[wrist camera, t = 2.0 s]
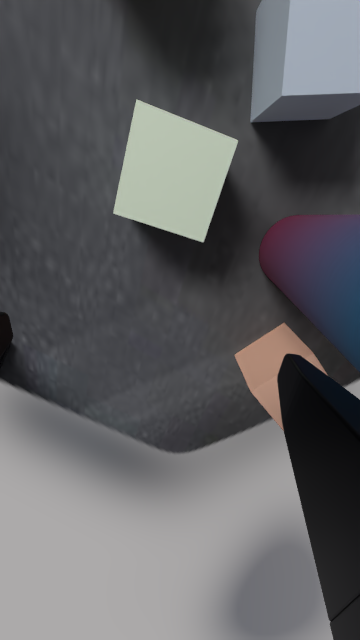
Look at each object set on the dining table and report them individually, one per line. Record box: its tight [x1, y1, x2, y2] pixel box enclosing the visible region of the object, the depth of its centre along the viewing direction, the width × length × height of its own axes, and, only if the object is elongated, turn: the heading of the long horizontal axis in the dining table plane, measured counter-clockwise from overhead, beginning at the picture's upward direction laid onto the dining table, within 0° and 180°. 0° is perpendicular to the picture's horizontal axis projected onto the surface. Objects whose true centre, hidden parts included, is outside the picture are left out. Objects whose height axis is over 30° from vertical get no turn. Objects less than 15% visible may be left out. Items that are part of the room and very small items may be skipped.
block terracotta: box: [235, 323, 328, 431], centre depth 22 cm, size 5×5×5 cm
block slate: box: [251, 0, 360, 122], centre depth 14 cm, size 5×5×5 cm
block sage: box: [113, 99, 238, 242], centre depth 16 cm, size 5×5×5 cm
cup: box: [259, 215, 360, 372], centre depth 14 cm, size 7×7×15 cm
